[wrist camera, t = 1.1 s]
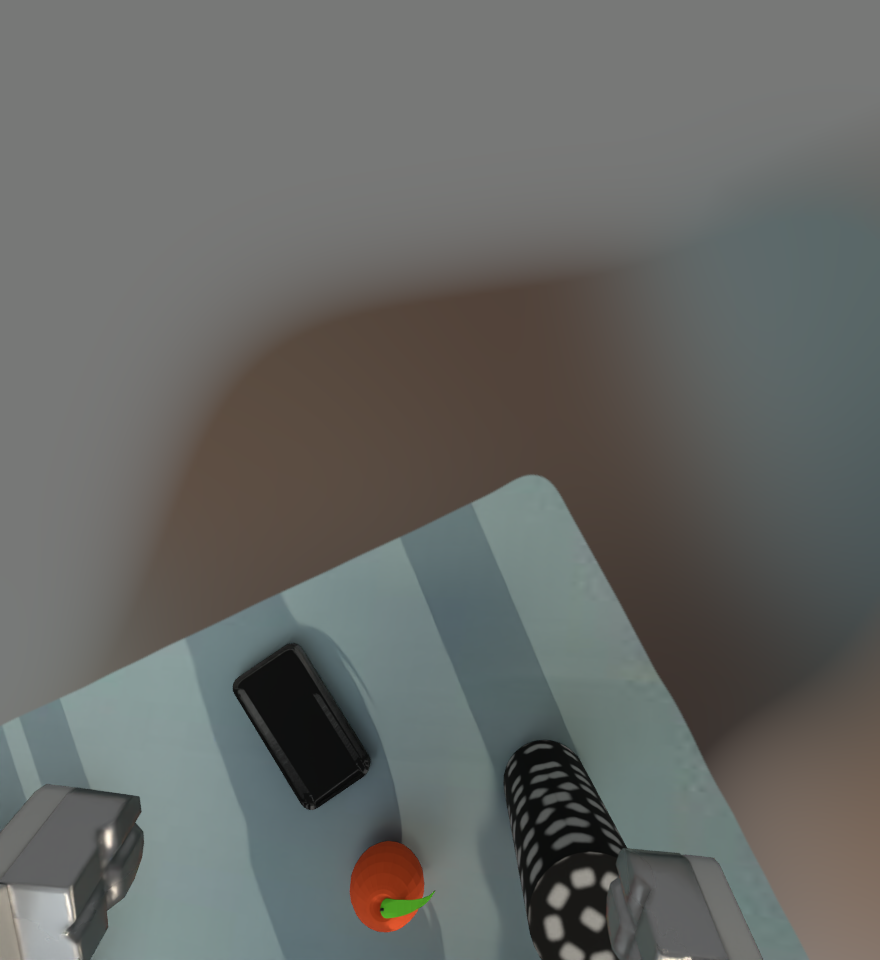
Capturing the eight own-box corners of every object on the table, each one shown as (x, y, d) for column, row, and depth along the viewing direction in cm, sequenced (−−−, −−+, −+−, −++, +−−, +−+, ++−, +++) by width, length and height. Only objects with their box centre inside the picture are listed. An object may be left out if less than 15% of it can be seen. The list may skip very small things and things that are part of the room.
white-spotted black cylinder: (487, 795, 57) (504, 938, 37) (531, 723, 57) (570, 826, 37) (559, 843, 56) (615, 1016, 36) (602, 770, 56) (681, 900, 37)
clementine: (435, 825, 57) (432, 867, 49) (438, 898, 56) (435, 952, 49) (355, 827, 57) (341, 870, 50) (357, 901, 56) (343, 954, 49)
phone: (307, 814, 56) (228, 684, 57) (310, 808, 57) (232, 681, 58) (374, 769, 56) (293, 640, 57) (375, 764, 57) (296, 637, 58)
